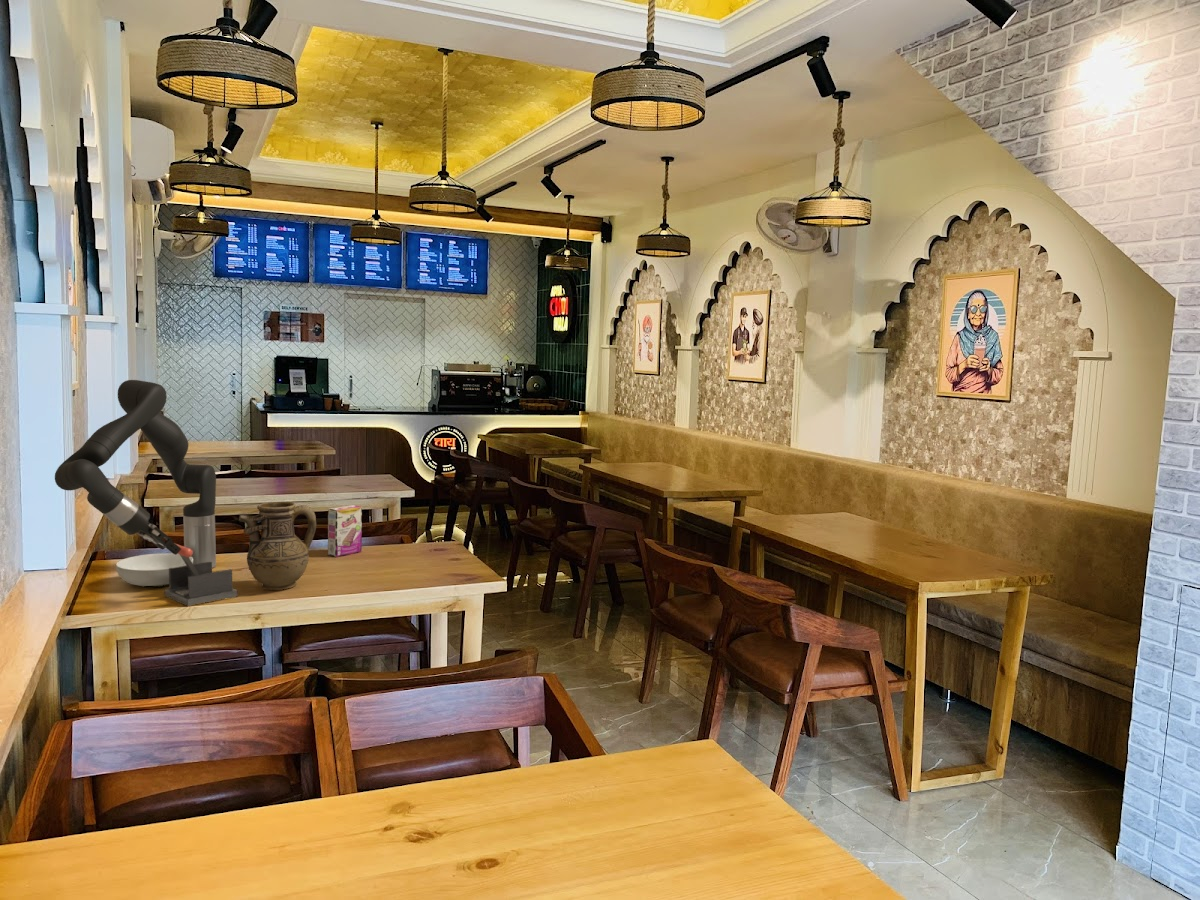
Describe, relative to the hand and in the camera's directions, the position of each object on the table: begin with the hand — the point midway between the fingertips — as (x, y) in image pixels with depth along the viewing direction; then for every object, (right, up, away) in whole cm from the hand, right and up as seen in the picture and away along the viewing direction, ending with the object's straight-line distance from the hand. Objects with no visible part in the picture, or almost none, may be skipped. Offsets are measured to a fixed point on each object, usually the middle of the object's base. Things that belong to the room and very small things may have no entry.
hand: (171, 549), depth 250 cm
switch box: (+5, -14, +7) cm, 17 cm away
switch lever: (+5, -10, +7) cm, 13 cm away
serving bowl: (-14, -13, +21) cm, 28 cm away
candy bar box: (+30, -9, +63) cm, 71 cm away
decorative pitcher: (+23, -14, +19) cm, 33 cm away
